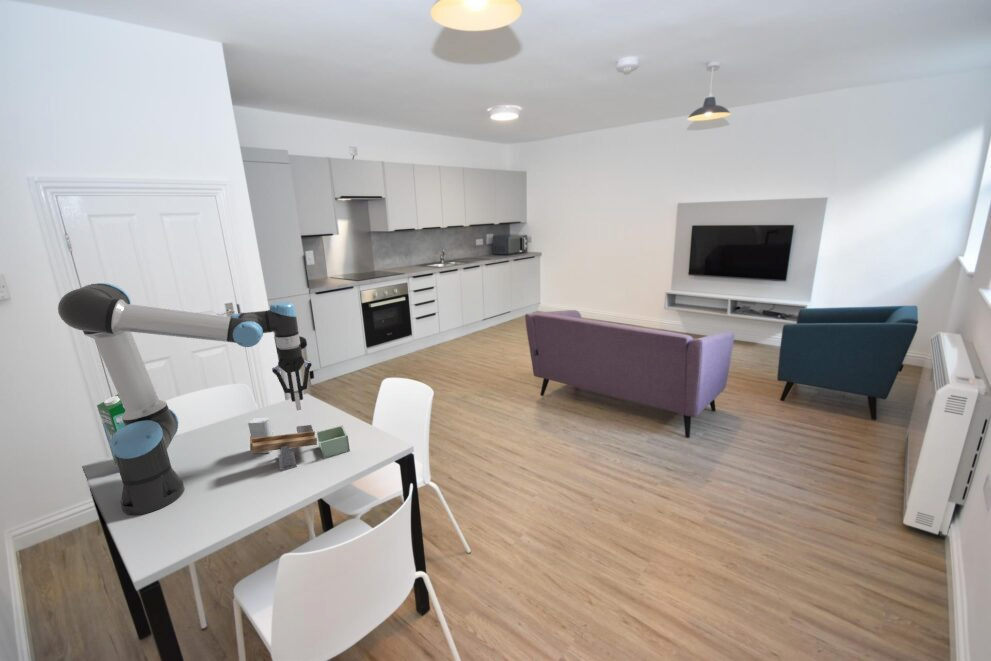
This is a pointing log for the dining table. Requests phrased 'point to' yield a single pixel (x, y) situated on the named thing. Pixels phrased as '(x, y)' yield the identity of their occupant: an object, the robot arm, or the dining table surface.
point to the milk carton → (111, 417)
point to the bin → (333, 441)
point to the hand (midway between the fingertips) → (298, 408)
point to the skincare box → (261, 428)
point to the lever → (284, 440)
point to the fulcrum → (286, 458)
